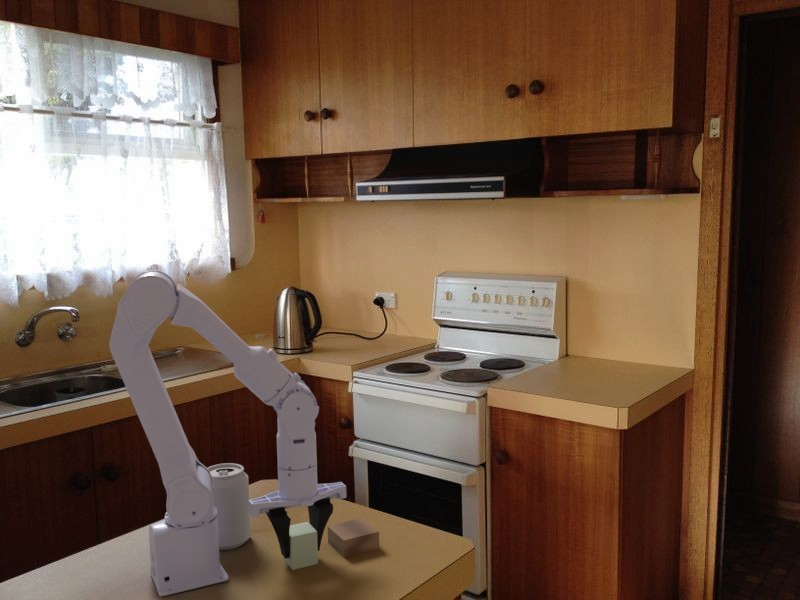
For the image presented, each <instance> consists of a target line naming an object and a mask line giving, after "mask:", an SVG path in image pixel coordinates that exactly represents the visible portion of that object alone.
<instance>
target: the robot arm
mask: <svg viewBox="0 0 800 600" xmlns="http://www.w3.org/2000/svg"><path fill="white" fill-rule="evenodd" d="M116 309H117V310H116V314H115V318H114V322H113V325H112V331H111V333H110V336H109V337H110V338H109V341H108V346H109V351H110V353H111V356H112V358H113V361H114V363H115V365H116V367H117V369H118V372H119V375H120V377H121V380H122V381H123V384H124V386H125V388H126V389H125V390H126V391H127V393H128V396H129V397H130V400H131V403H132V405H133V407H134V410H135V412H136V414H137V417H138V419H139V422H140V423H141V426H142V428H143V430H144V433H145V435H146V438H147V440H148V442H149V445H150V447H151V449H152V452H153V454H154V457H155V459H156V461H157V465H158V468H159V470H160V471H159V473H160V476H161V480H162V483H163V486H164V489H165V491H166V504H165V508H166V512H165V514H164V518H163V519H162V520H160V521H157V522H155V523H154V522H153V523H151V524H149V528H148V538H149V539H148V540H149V554H150V556H149V557H150V559H149V560H150V564H149V565H150V574H151V577H152V580H153V583H154V585H155V589H156V591H157V593H158V596H159V597H165V596H169V595H173V594H178V593H183V592H185V591H190V590H194V589H199V588H202V587H206V586H211V585H214V584H219V583H222V582H223V583H224V582H226V581H228V580H229V575H228V573H227V572H226V571H225V569H224V567H223V565H222V564H221V561H220V559H221V558H220V550H219V536H218V515H217V509H216V507H214V497H213V494H212V476H211V473H210V471H209V470H208V469H207V468H208V467H207V466H205V465H204V464H203V463H201V461H199V458H198V457H197V455H196V452H195V450H194V449H193V447H192V446H191V445H190V443H189V440H188V437H187V435H186V433H185V431H184V429H183V425H182V423H181V421H180V419H179V417H178V413H177V412H176V408H175V407H174V405H173V404H174V403H173V402H172V399H171V398H170V397H171V396H170V395H169V392H168V390H167V388H166V386H165V382H164V380H163V378H162V375H161V373H160V370H159V368H158V366H157V363H156V362H155V358H154V356H153V354H152V351H151V348H150V347H149V345H150V343H151V341H152V338H153V336H155V333H156V330H157V329H158V327H159V326H161V325H162V323H164V322H165V321H166V320H167V318H169V317H170V316H171V317H170V325H172V326H178V327H179V326H180V327H186V328H187V327H188V328H191V329H193V330H194V331H195V332H197V333H198V334H199V335H200V336H201V337H203V339H205V340H206V341H207V342H208V343H209V344H211V345H212V346H213V347H214V348H216V350H218V351H219V352H220V353H222V354H223V356H225V357H226V358H227V359H229V360H230V362H232V363H233V375H234V377H235V378H236V379H237V380H238V381H240V383H242V384H243V385H244V386H245V387H246V388H247V389H248V390H250V392H252V393H253V395H255V397H257V398H258V399H259V400H261V401H262V403H264V404H265V405H267V406H271V407H273V410H274V411H275V412H276V415H277V420H276V421H277V422H276V423H277V433H276V455H277V459H276V460H277V483H278V490H276V491H272V492H269V493H267V494H265V495H261V496H259V497H255V498H251V499H249V500H248V502H249V513H250V517H252V518H256V517H259V516H260V515H261V514H266V517H267V518H268V520H269V521H270V523H271V525H272V527H273V530H274V532H275V535H276V538H277V541H278V544H279V548H280V554H281V555H282V556H283V559H284V558H290V543H289V530H290V525H291V518H290V516H289V515H288V511H286V509H290V508H295V507H301V508H305V507H307V510H308V519H309V523H310V525H311V526H312V527H313V528H314V529H315V530H316V531H317V543H318V552H319V551H320V549H321V545H322V540H323V536H324V532H325V529H326V526H327V524H328V521H329V519H330V518H331V516H332V515H333V512H334V504H332V503H331V500H334V499H339V500H343V499H346V498H347V485H346V484H344V483H343V481H337V482H330V483H328V482H327V483H318V457H317V455H318V452H317V433H316V430H315V428H316V421H315V420H316V419H317V417H318V416H319V412H320V406H319V405H318V402H317V399H316V397H315V395H314V393H313V392H312V391H311V389H310V387H309V386H308V385H307V384H306V383H305V381H303V380H302V378H301V376H300V375H299V374H298V373H297V372H294V373H292V372H291V370H289V369H288V368H287V367H286V366H285V365H283V364H282V363H281V362H280V361H279V359H277V358H278V354H277V352H276V351H274V349H273V348H269V349H268V350H267V349H266V348H265V347H264V346H262V345H255V346H252V345H248V344H247V343H246V342H245V341H244V340H243V339H242V338H241V337H240V336H239V335H238V334H237V333H236V332H235V331H234V330H233V329H231V327H230V326H228V324H226V323H225V322H224V321H223V320H222V318H221V317H219V316H218V314H217V313H215V312H214V311H213V310H212V309H211V307H209V306H208V305H207V304H206V303H205V302H204V301H203V300H201V299H200V298H199V297H198V296H196V294H194V293H193V292H191V291H190V290H189V289H188V288H187V287H185V286H183V285H182V284H180V283H178V284H177V285H176V283H175V282H174V279H173V278H172V277H171V276H170V275H169V274H167V273H166V272H163V271H161V270H155V269H150V270H146V271H144V272H141V273H140V274H138V275H137V276H135V278H134V279H133V280H132V282H131V283H130V284H129V286H128V287H127V289H126V290H125V292H124V294H123V295H122V296H121V297H120V299H119V301H118V303H117V307H116Z"/></svg>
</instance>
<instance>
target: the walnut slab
mask: <svg viewBox="0 0 800 600" xmlns="http://www.w3.org/2000/svg"><path fill="white" fill-rule="evenodd" d="M327 542H328V545H330V546H331V547H332V548H333V549H334V550H335V551H336V552H337V553H338V554H339V555H340V556H341V557H343V558H349V557H353V556H356V555H359V554H363V553H366V552H371V551H373V550H375V551H376V550H378V549H380V531H379V530H378V529H376V528H375V527H374V526H373V525H372V524H371V523H369V522H368V521H367V520H366V519H364V518H363V517H359V518H356V519H351V520H348V521H343V522H338V523H334V524H329V525H327Z"/></svg>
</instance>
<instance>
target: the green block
mask: <svg viewBox="0 0 800 600" xmlns="http://www.w3.org/2000/svg"><path fill="white" fill-rule="evenodd" d="M289 543H290V558H284V557H283V560H284V562H285V563H286V564H287V565H288V566H289V567H290V569H291V570H292V571H295V570H298V569H301V568H306V567H310V566H314V565H318V564H319V551H318V543H317V531H316V530H315V529H314V528H313V527H312V526H311V525H310V521H304V522H299V523H296V524H290V530H289Z"/></svg>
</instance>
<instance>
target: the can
mask: <svg viewBox="0 0 800 600" xmlns="http://www.w3.org/2000/svg"><path fill="white" fill-rule="evenodd" d="M207 469H208V470H209V471H210V473H211V476H212V494H213V497H214V507H216V509H217V515H218V536H219V551H225V550H232V549H237V548H239V547H242V545H244V544H245V543H246V541H248V540H249V538H251V536H252V534H251V533H252V529H251V528H252V527H251V526H252V525H251V514H250V513H249V502H248V500H250V485H249V475H248V474H247V473H246V472H245V471H244V470H245V467H244V466H243V465H241V464H239V463H232V462H229V463H228V462H227V463H218V464H214V465H211V466H208V467H207Z"/></svg>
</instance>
